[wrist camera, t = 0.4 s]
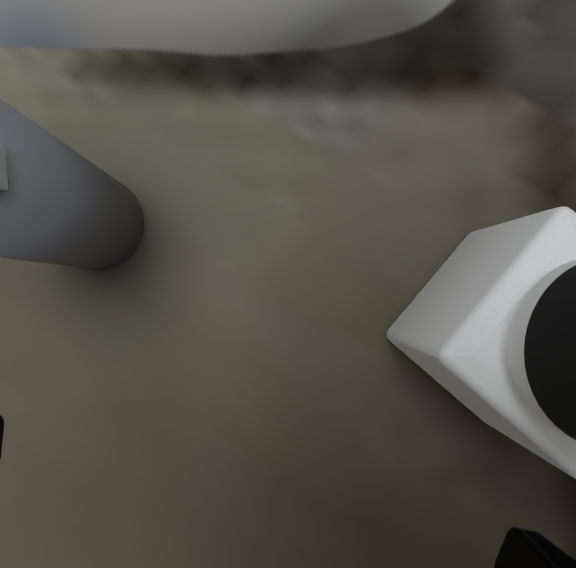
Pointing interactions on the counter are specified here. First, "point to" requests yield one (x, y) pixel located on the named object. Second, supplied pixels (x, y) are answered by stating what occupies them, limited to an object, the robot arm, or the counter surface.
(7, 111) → the white-capped grey cylinder
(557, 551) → the robot arm
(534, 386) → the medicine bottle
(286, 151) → the counter surface
